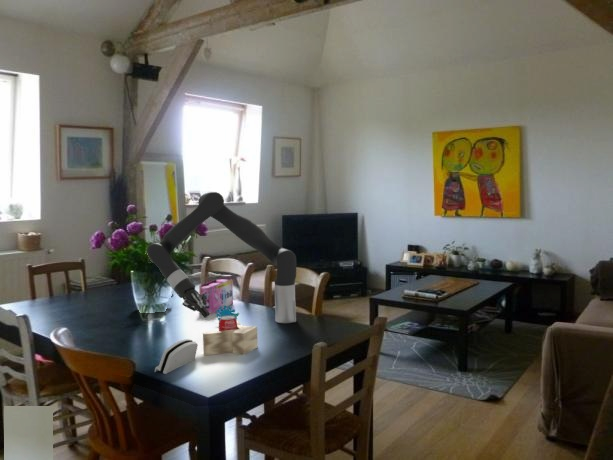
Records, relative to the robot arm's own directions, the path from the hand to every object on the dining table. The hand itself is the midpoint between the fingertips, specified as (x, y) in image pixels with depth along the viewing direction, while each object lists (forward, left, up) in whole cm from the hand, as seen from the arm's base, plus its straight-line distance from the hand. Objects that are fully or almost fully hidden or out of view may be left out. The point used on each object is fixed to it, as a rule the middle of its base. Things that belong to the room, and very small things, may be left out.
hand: (207, 316), depth 212 cm
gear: (-6, -33, -12) cm, 36 cm away
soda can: (-8, +4, -12) cm, 15 cm away
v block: (-10, +6, -12) cm, 17 cm away
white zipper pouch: (+9, +23, -12) cm, 27 cm away
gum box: (+1, -64, -12) cm, 65 cm away
